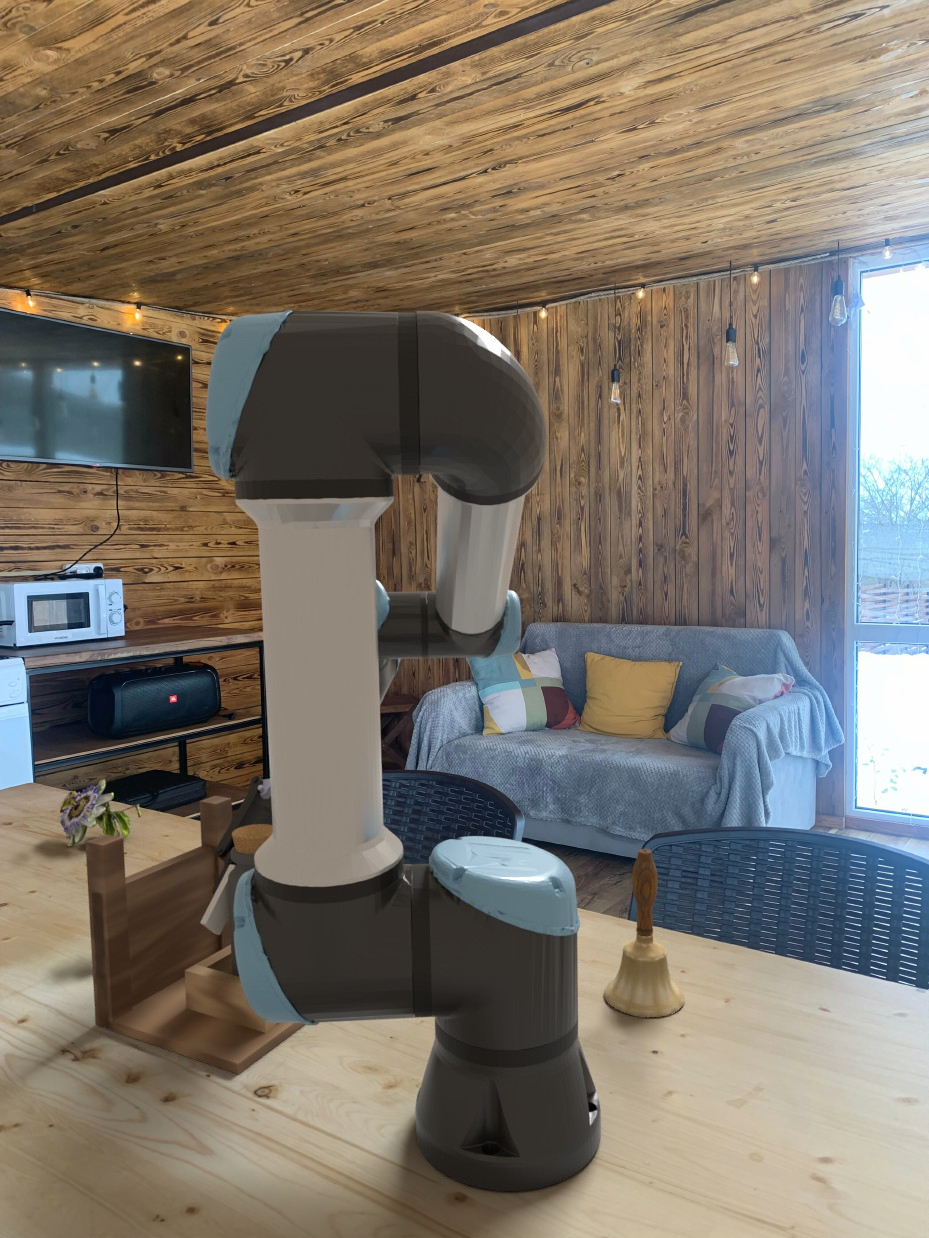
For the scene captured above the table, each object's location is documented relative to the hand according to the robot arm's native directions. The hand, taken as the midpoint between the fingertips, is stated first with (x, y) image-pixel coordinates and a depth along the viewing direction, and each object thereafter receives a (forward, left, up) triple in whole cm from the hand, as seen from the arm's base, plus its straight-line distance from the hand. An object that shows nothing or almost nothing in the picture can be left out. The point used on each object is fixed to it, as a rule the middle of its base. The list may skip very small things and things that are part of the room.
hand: (234, 934), depth 92 cm
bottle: (+2, -3, -6) cm, 7 cm away
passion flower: (+69, +2, -9) cm, 70 cm away
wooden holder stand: (+3, 0, -9) cm, 9 cm away
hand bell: (-19, -37, -9) cm, 43 cm away
